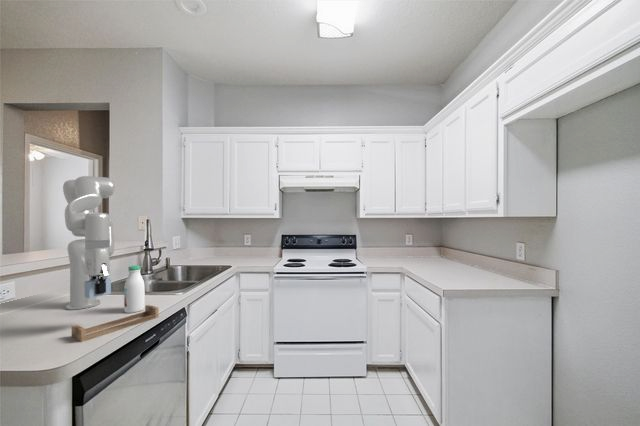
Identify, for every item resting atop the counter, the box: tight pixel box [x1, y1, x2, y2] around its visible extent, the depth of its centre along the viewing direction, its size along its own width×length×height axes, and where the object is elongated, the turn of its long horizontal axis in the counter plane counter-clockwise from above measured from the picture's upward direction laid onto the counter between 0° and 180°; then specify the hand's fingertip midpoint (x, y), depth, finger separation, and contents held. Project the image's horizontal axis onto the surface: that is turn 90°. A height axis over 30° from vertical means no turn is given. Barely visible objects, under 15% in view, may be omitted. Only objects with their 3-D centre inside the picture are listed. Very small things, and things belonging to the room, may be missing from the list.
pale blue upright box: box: [85, 277, 112, 299], centre depth 109 cm, size 4×7×6 cm, turn 150°
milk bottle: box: [123, 264, 146, 314], centre depth 127 cm, size 8×8×20 cm
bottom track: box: [71, 304, 160, 343], centre depth 109 cm, size 8×26×4 cm, turn 151°
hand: (97, 292), depth 109 cm, fingers closed on pale blue upright box, 4 cm apart
